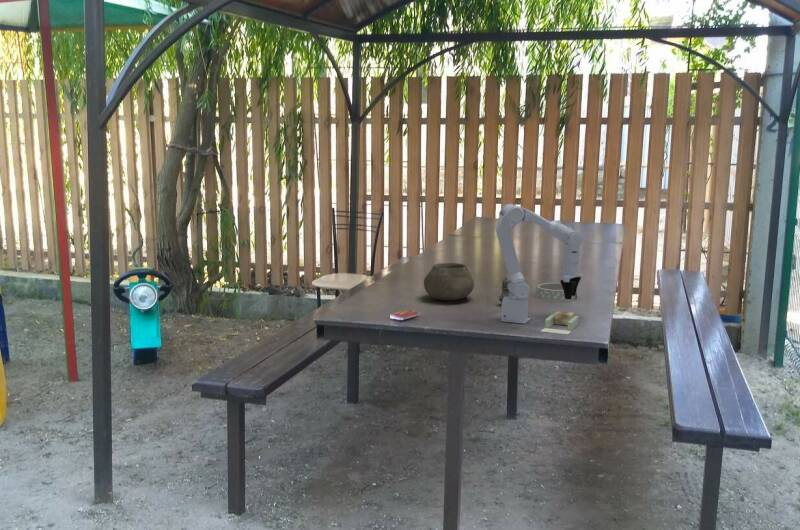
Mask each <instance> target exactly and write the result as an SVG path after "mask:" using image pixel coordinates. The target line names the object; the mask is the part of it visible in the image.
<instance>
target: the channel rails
mask: <svg viewBox="0 0 800 530" xmlns="http://www.w3.org/2000/svg"><path fill="white" fill-rule="evenodd" d="M555 313H556V312H554V313H552V314H550V315H549V316H548V317H547V318H546V319H545V320H544V328H549V329H551V327H552V326H553V325H555V324H554V322H555ZM579 324H580V316H579V315H574V317H573V318H572V319H571V320H570V321H569V322H568V325H567V329H566V330H567V331H571V332H572V331H573V330H575V328H576V327H577V326H578V325H579Z"/></svg>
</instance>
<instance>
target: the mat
mask: <svg viewBox="0 0 800 530" xmlns="http://www.w3.org/2000/svg"><path fill="white" fill-rule="evenodd" d="M540 332H542V333H543V332H544V333H550V334H551V333H552V334H558V335H560V334H561V335H569V334H570V333H571V332H572V331H568V330H567V329H557V328H545V327H544V328H542V330H540Z"/></svg>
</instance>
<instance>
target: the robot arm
mask: <svg viewBox="0 0 800 530" xmlns="http://www.w3.org/2000/svg"><path fill="white" fill-rule="evenodd" d="M529 221H530V222H532V223H534V224H535V225H538V226H540V227H542V228H543V229H545V231H546V232H547V233H546V234H547V235H549V236H551V237H553V238H555V239H557V240H559V241H561V242H562V243H564V250H563V272H562V276H563V279H560V282H559V283H561V285H562V287H563V290H564V295H565V299H571V298H572V296H575V294H576V291H578V286H579V284H580V281H581V279H582V276H583V274H582V273H580V253H581V250H580V249H581V248H580V247H581V246H582V244H583V240H584V239H583V237H582V236H583V235H581V232H578V231H576V230H574V229H573V227H571V226H566V225H565V224H563V223H562V221H561V220H559V219H558V220H548V219H547V218H544V217H543V216H541V215H539V214H537V213H535V212H534V211H532V210H530V209H528V208H524V207H522V206H519V205H515V204H513V203H506V204H505V205H503V206H502V208H501V210H499V212H498V219H497V223H496V225H495V226H496V228H495V233H496V236H497V239H498V240H497V241H498V243H499V247H500V250H501V254H502V257H503V262H504V265H505V269H506V272H507V276H506V277H507V279H508V286H507V287H508V290H509V292H510V294H509V297H504V298H503V300H502V307H501V319H500V321H501V322H507V323H515V324H526V323H528V322H529V321H530V320H531V319H532V318H531V317H528V315H529V314H528V313H529V311H528V310H529V295H530V293H531V288H530V285H529V284H528V283H527V281H526V279H525V277H524V275H523V273H522V270H521V267H520V262H519V260H518V256H517V252H516V248H515V245H514V241H513V237H512V233H511V232H512V231H513V229H514V228H515V227H516V226H517V225H519V224H520V223H521V222H529Z"/></svg>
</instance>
